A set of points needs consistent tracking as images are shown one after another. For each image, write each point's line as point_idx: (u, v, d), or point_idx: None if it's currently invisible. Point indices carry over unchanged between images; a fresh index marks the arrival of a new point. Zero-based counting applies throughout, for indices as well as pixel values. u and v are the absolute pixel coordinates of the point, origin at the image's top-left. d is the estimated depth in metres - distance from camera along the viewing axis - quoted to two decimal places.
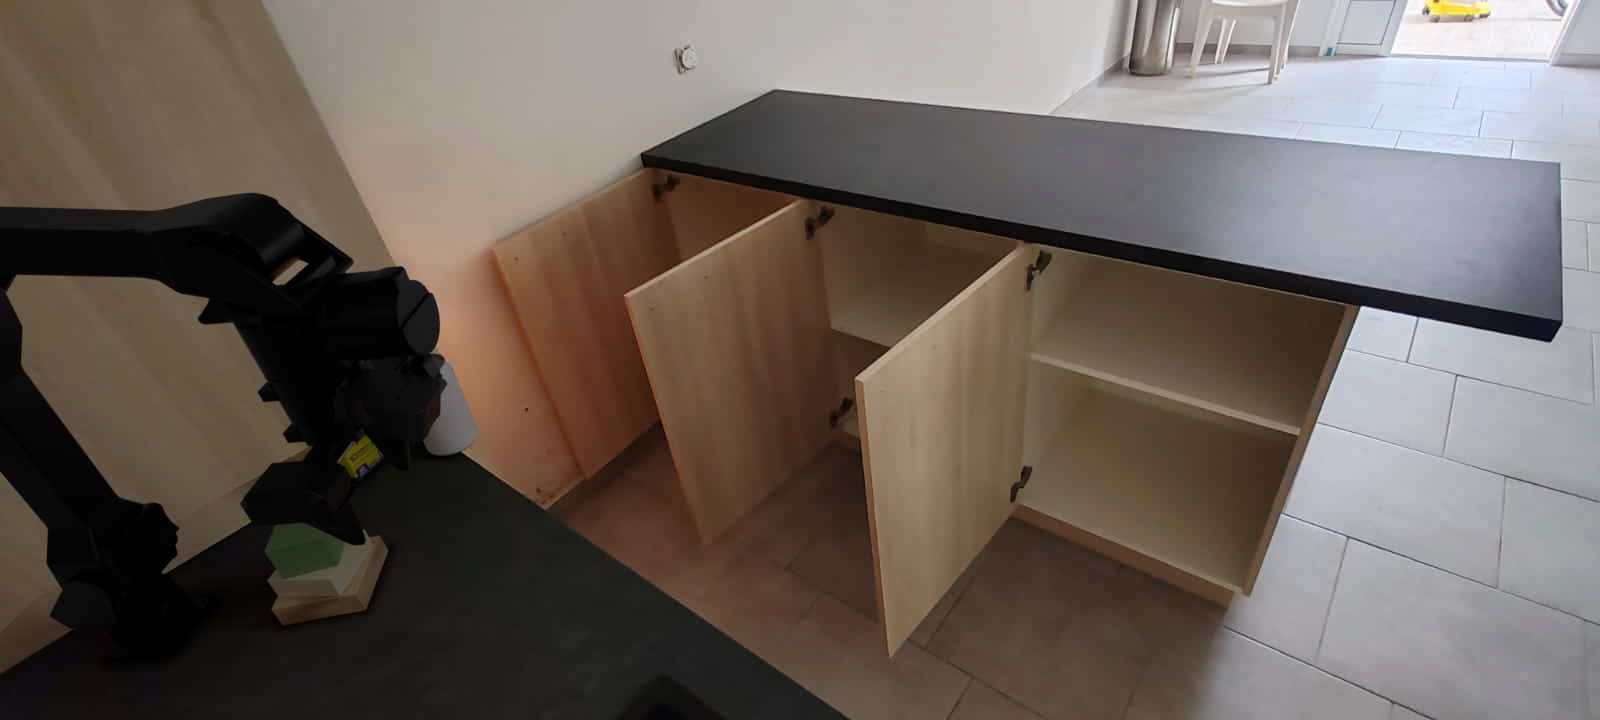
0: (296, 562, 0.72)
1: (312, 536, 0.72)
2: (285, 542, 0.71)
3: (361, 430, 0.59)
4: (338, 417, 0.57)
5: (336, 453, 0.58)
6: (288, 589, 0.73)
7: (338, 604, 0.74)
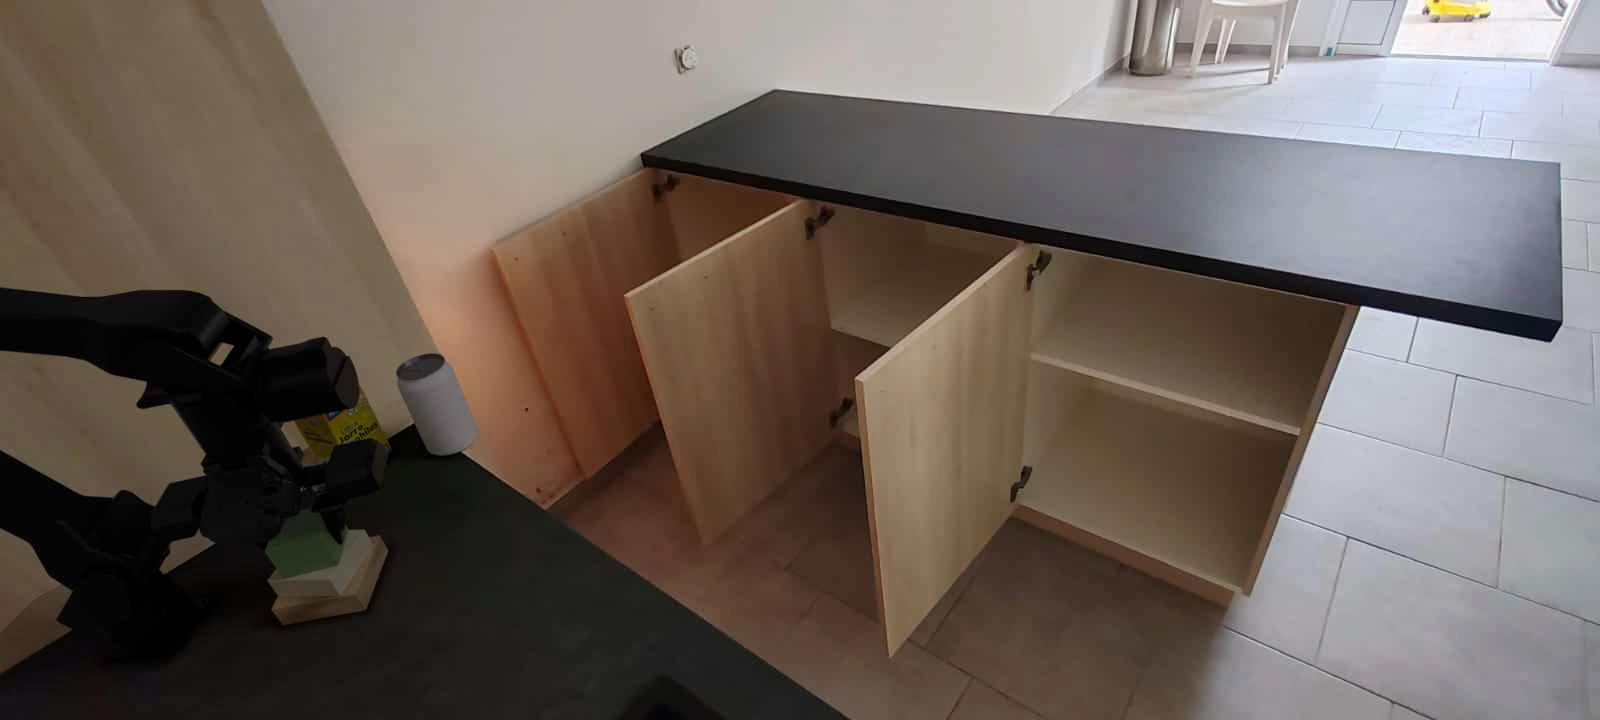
0: (296, 562, 0.72)
1: (312, 536, 0.72)
2: (285, 541, 0.71)
3: None
4: None
5: None
6: (288, 589, 0.73)
7: (338, 603, 0.74)
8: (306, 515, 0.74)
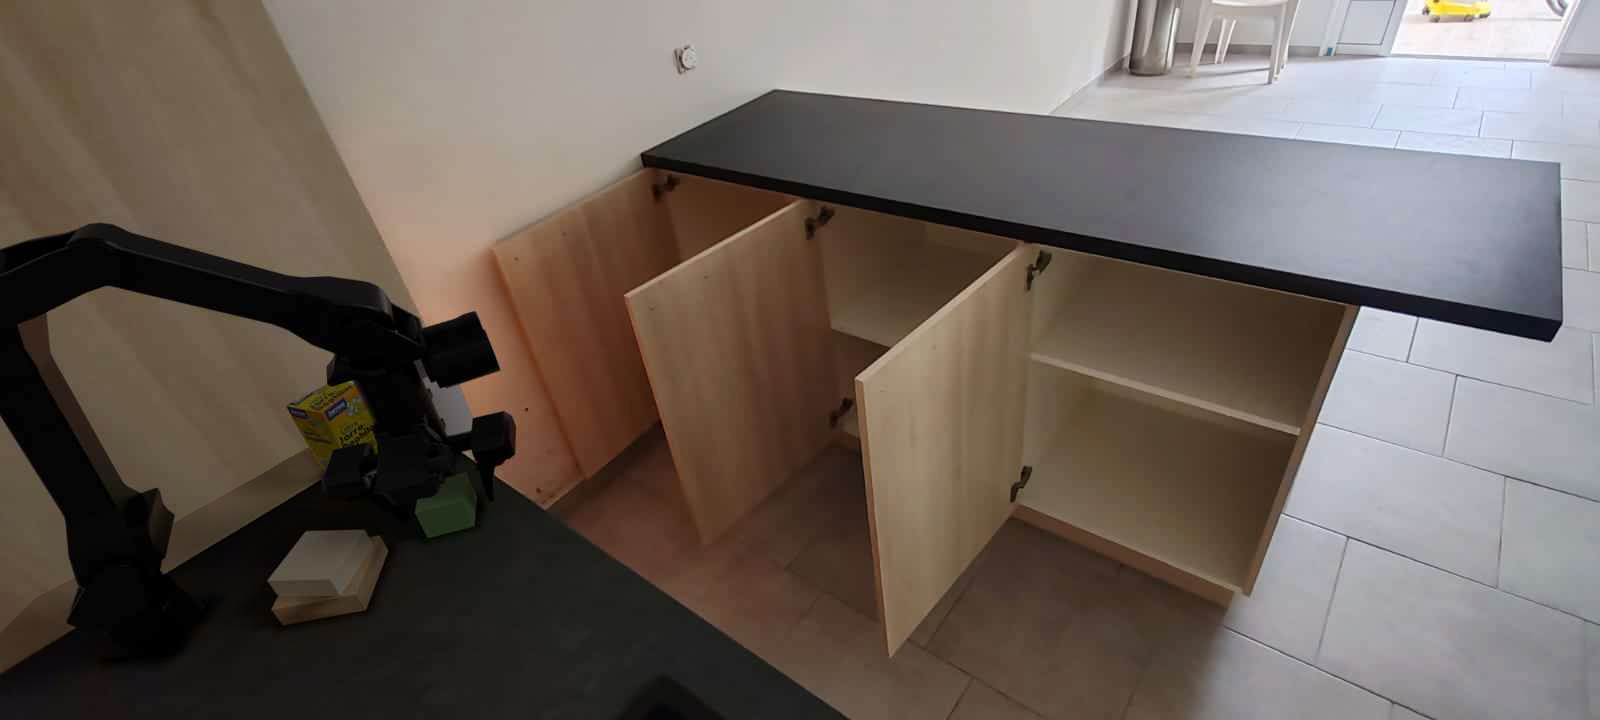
0: (439, 523, 0.82)
1: (454, 499, 0.82)
2: (431, 504, 0.81)
3: None
4: None
5: None
6: (288, 589, 0.73)
7: (338, 603, 0.74)
8: (445, 483, 0.84)
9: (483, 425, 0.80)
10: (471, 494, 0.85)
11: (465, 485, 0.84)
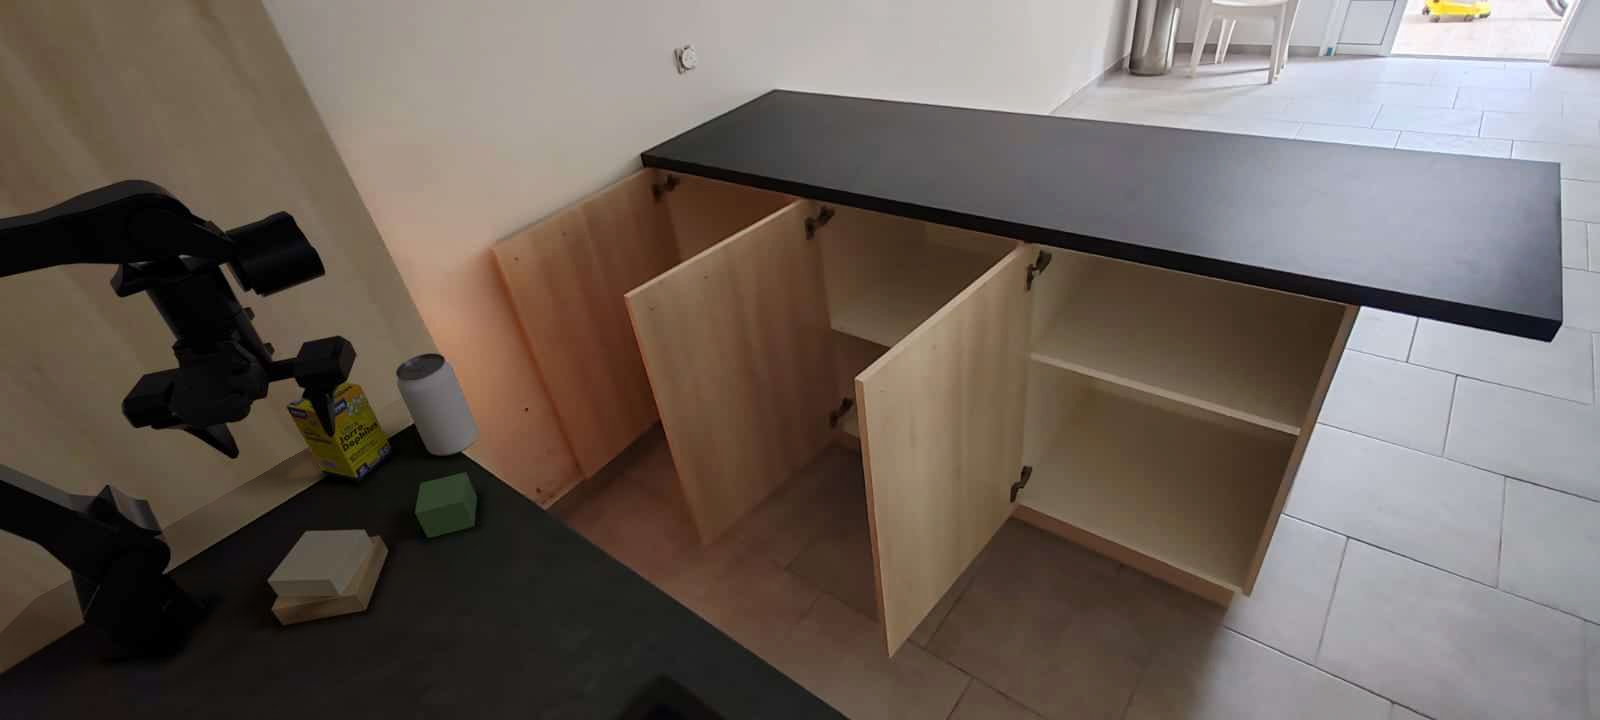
0: (439, 523, 0.82)
1: (454, 499, 0.82)
2: (431, 504, 0.81)
3: None
4: None
5: None
6: (288, 589, 0.73)
7: (338, 603, 0.74)
8: (445, 483, 0.84)
9: (312, 349, 0.73)
10: (471, 494, 0.85)
11: (465, 485, 0.84)
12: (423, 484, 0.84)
